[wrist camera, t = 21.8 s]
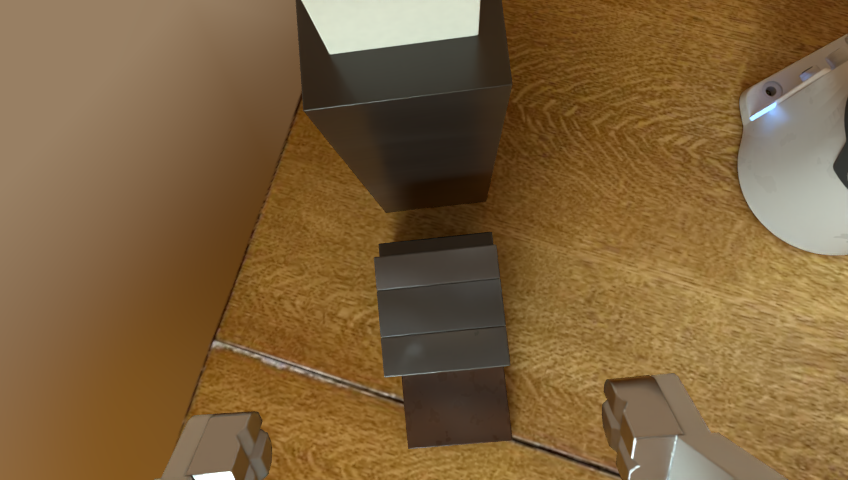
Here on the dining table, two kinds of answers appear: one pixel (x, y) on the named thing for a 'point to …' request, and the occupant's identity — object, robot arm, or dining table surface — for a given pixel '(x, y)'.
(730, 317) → the dining table surface
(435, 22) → the cream book
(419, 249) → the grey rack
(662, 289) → the dining table surface
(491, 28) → the dark brown tall box
